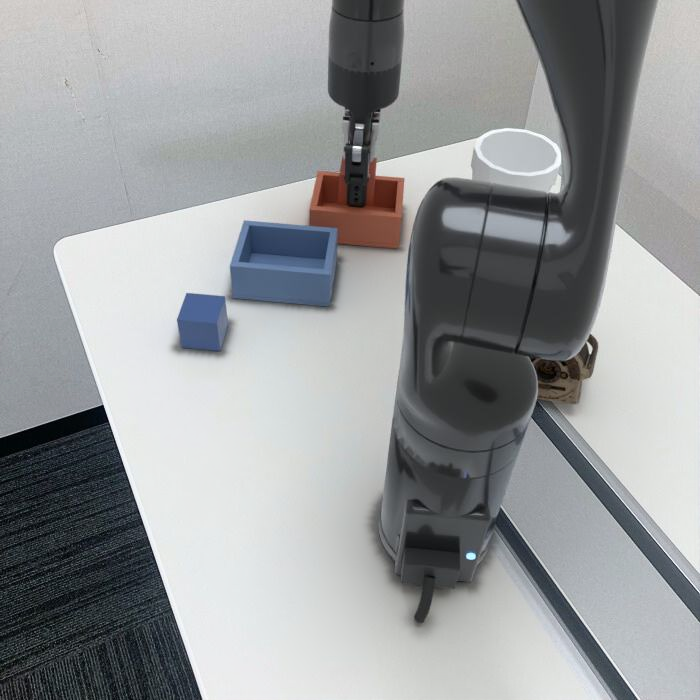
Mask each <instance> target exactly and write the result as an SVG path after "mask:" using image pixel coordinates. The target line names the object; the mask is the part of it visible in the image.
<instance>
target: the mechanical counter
mask: <svg viewBox="0 0 700 700" xmlns="http://www.w3.org/2000/svg"><path fill="white" fill-rule="evenodd" d="M588 344H589V345H590V346H591V348H592V349H591V353H590V351H589V346H588ZM598 352H599V342H598V340H597V338H596V337H595V336H594V335H593V334H592V333H590V335H589V338H588V340H587V341H586V343H585V344H584V346H583V347H582V349H581V350H580V352H579V353H578V354H577V355H576V356H574V357H573V358H571V359H569V360H566V361H550V360H544V359H538V358H533V357H529V358H530V360H531V362H532V364H533V366H534V368H535V371H536V374H537V380H538V395H537V400H543V401H549V402H554V403H561V404H562V403H563V404H569V405H579V404H580V398H581V395H582V386H583V381H584V380H588V379H591V377H592V375H593V373H594V370H595V364H596V360H597V356H598Z"/></svg>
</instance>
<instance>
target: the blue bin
mask: <svg viewBox="0 0 700 700" xmlns="http://www.w3.org/2000/svg"><path fill="white" fill-rule="evenodd" d="M237 238H238V239H237V242H236V244H235V248H234V251H233V254H232V258H231V260H230V263H229V271H230V273H229V274H230V282H231V291H232V298H233V299H237V300H238V299H240V300H250V301H261V302H273V303H274V302H275V303H283V304H284V303H285V304H296V305H306V306H307V305H308V306H318V307H328V308H329V307H330V306H331V300H332V295H333V289H334V288H333V286H334V280H335V275H336V268H337V263H338V262H337V261H338V243H337V242H338V228H328V227H316V226H309V225H304V224H291V223H289V224H288V223H280V222H268V221H258V220H257V221H256V220H243V222H242V225H241V228H240V232H239V235H238V237H237Z"/></svg>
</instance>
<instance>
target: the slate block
mask: <svg viewBox="0 0 700 700" xmlns="http://www.w3.org/2000/svg"><path fill="white" fill-rule="evenodd" d="M226 301H227V300H226V296H225V295H216V294H204V293H203V294H202V293H195V292H194V293H193V292H192V293H191V292H186V293H185V296H184V298H183V301H182V304H181V306H180V309H179V312H178V315H177V318H176V323H177V328H178V334H179V340H180V346H181V348H183V349H191V350H192V349H193V350H202V351H203V350H204V351H212V352H213V351H215V352H221V350H222V347H223V345H224V340H225V336H226V332H227V329H228V326H229V320H228V312H227V302H226Z"/></svg>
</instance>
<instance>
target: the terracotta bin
mask: <svg viewBox="0 0 700 700" xmlns="http://www.w3.org/2000/svg"><path fill="white" fill-rule="evenodd" d="M316 172H317V173H316V177H315V180H314V181H315V182H314V187H313V190H312V196H311V200H310V206H309V210H308V211H309V212H308V213H309V215H308V217H309V219H308V220H309V223H308V224H309V225H308V226H316V227H328V228H338V242H337V245H338V244H340V245H349V246H361V247H363V246H364V247H373V248H385V249H397V250H398V249H399V248H400V246H399V245H400V237H401V228H402V218H403V205H404V190H405V177H398V176H385V175H376V177H375V190H374V198H373V206H365V207H363V208H358V207H349V206H348V205H347V204H338V198H339V173H340V172H338V171H337V172H336V171H327V170H317V171H316Z"/></svg>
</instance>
